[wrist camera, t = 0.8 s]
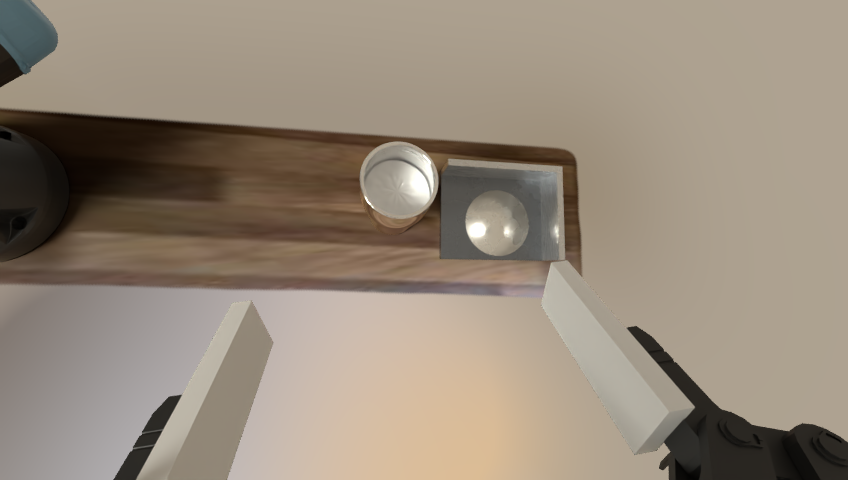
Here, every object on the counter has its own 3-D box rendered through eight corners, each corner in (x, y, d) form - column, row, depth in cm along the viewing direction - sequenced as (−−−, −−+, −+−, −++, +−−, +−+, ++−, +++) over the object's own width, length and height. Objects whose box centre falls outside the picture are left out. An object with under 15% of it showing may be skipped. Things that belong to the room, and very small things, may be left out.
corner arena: (439, 258, 40) (447, 257, 35) (440, 171, 41) (448, 158, 36) (544, 260, 42) (565, 259, 37) (542, 177, 43) (562, 166, 38)
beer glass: (393, 249, 39) (402, 238, 24) (353, 212, 39) (338, 179, 24) (428, 211, 40) (457, 179, 25) (390, 175, 40) (397, 122, 25)
